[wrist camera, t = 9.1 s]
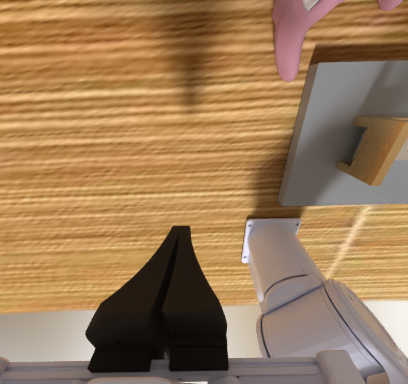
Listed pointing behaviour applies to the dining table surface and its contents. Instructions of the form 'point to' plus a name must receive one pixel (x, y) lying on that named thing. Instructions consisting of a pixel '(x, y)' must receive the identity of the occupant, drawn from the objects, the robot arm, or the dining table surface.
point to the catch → (376, 148)
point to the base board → (343, 134)
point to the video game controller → (301, 29)
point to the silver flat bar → (404, 154)
